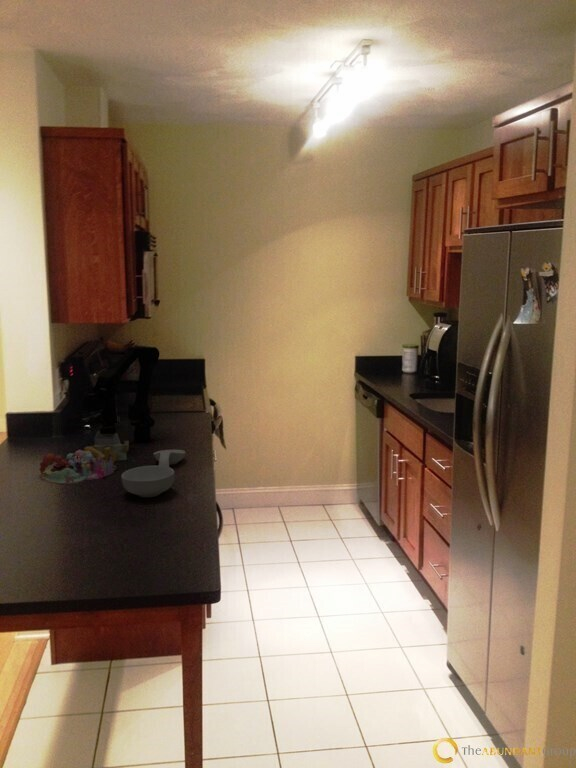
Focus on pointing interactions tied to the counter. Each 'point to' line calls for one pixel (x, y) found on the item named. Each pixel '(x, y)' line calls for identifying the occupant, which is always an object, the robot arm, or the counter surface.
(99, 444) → the medicine box
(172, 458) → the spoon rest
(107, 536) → the counter surface
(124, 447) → the pair of wooden bars
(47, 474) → the candy landscape model
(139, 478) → the cereal bowl
